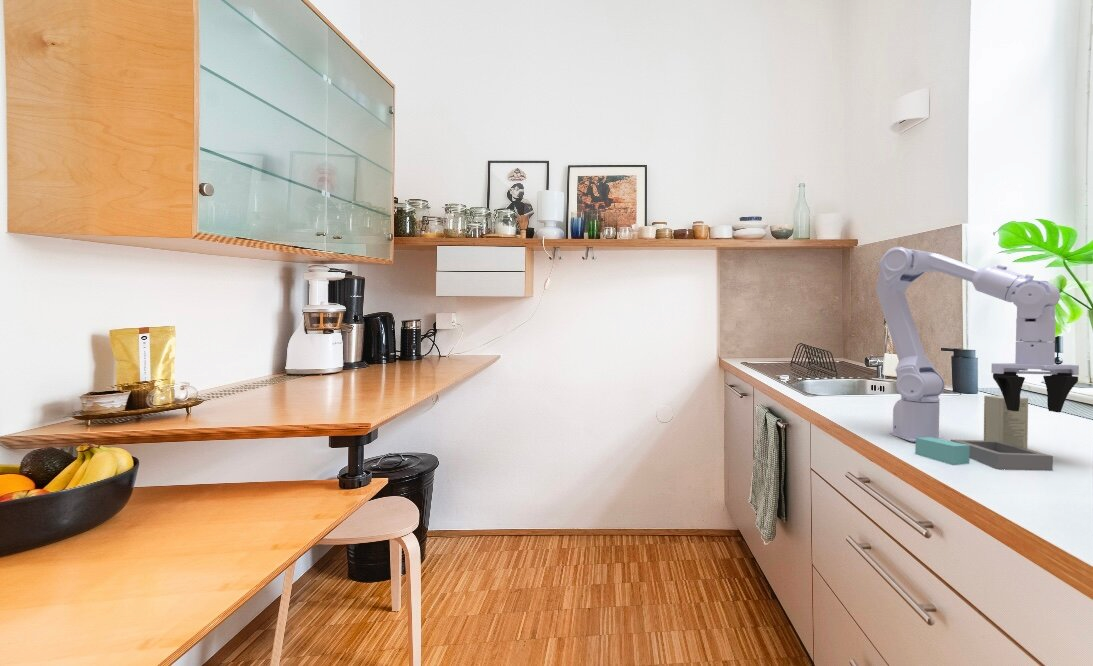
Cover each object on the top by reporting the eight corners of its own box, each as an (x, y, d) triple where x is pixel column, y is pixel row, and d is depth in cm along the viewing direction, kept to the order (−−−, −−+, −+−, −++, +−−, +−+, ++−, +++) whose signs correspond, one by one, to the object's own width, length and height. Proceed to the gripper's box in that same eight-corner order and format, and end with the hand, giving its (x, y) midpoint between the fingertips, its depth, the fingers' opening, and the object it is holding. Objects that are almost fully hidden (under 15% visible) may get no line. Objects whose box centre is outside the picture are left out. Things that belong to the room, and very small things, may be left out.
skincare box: (1010, 450, 118) (1011, 395, 118) (1028, 455, 113) (1029, 397, 113) (981, 450, 118) (982, 394, 118) (999, 455, 113) (1000, 397, 113)
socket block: (950, 453, 114) (950, 439, 114) (998, 455, 113) (998, 441, 113) (997, 470, 101) (998, 454, 101) (1052, 472, 100) (1052, 455, 100)
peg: (915, 457, 111) (915, 437, 111) (930, 456, 112) (930, 437, 112) (953, 466, 104) (953, 446, 104) (969, 465, 105) (969, 445, 105)
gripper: (1011, 341, 102) (1009, 413, 102) (1094, 343, 101) (1092, 415, 101) (984, 341, 109) (983, 407, 109) (1061, 342, 108) (1060, 409, 108)
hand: (1033, 411), depth 106 cm, fingers open, 7 cm apart
